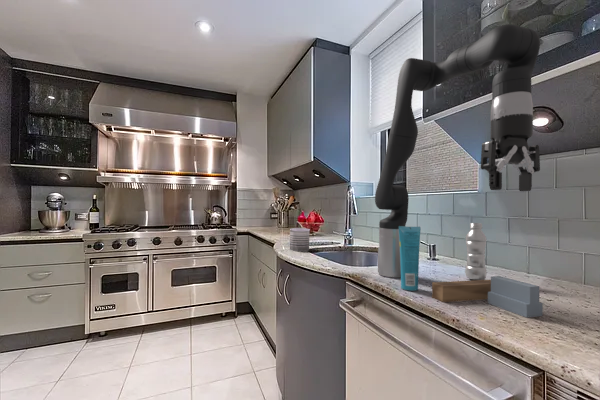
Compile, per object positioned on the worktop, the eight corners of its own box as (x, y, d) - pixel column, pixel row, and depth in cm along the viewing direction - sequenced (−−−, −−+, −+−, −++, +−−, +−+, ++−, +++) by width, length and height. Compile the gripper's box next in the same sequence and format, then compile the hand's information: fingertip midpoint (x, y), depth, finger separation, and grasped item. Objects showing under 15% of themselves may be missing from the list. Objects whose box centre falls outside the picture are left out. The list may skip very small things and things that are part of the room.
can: (310, 248, 168) (310, 228, 168) (308, 251, 156) (308, 229, 157) (291, 247, 169) (291, 227, 169) (287, 250, 158) (288, 229, 158)
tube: (413, 286, 91) (414, 225, 92) (424, 290, 87) (425, 226, 87) (394, 287, 89) (394, 225, 89) (404, 292, 84) (404, 226, 85)
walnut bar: (432, 298, 80) (432, 282, 80) (490, 294, 85) (490, 279, 85) (442, 303, 76) (442, 286, 76) (502, 299, 81) (502, 283, 81)
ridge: (487, 303, 76) (487, 276, 76) (502, 301, 77) (502, 275, 77) (526, 317, 66) (526, 287, 66) (542, 315, 68) (542, 285, 68)
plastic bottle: (488, 280, 101) (489, 223, 101) (483, 283, 96) (483, 224, 97) (468, 276, 106) (468, 222, 106) (462, 279, 101) (462, 222, 101)
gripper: (518, 125, 69) (517, 192, 69) (471, 119, 65) (470, 190, 65) (553, 116, 62) (552, 191, 62) (502, 108, 58) (502, 188, 58)
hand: (510, 190), depth 63 cm, fingers open, 8 cm apart
